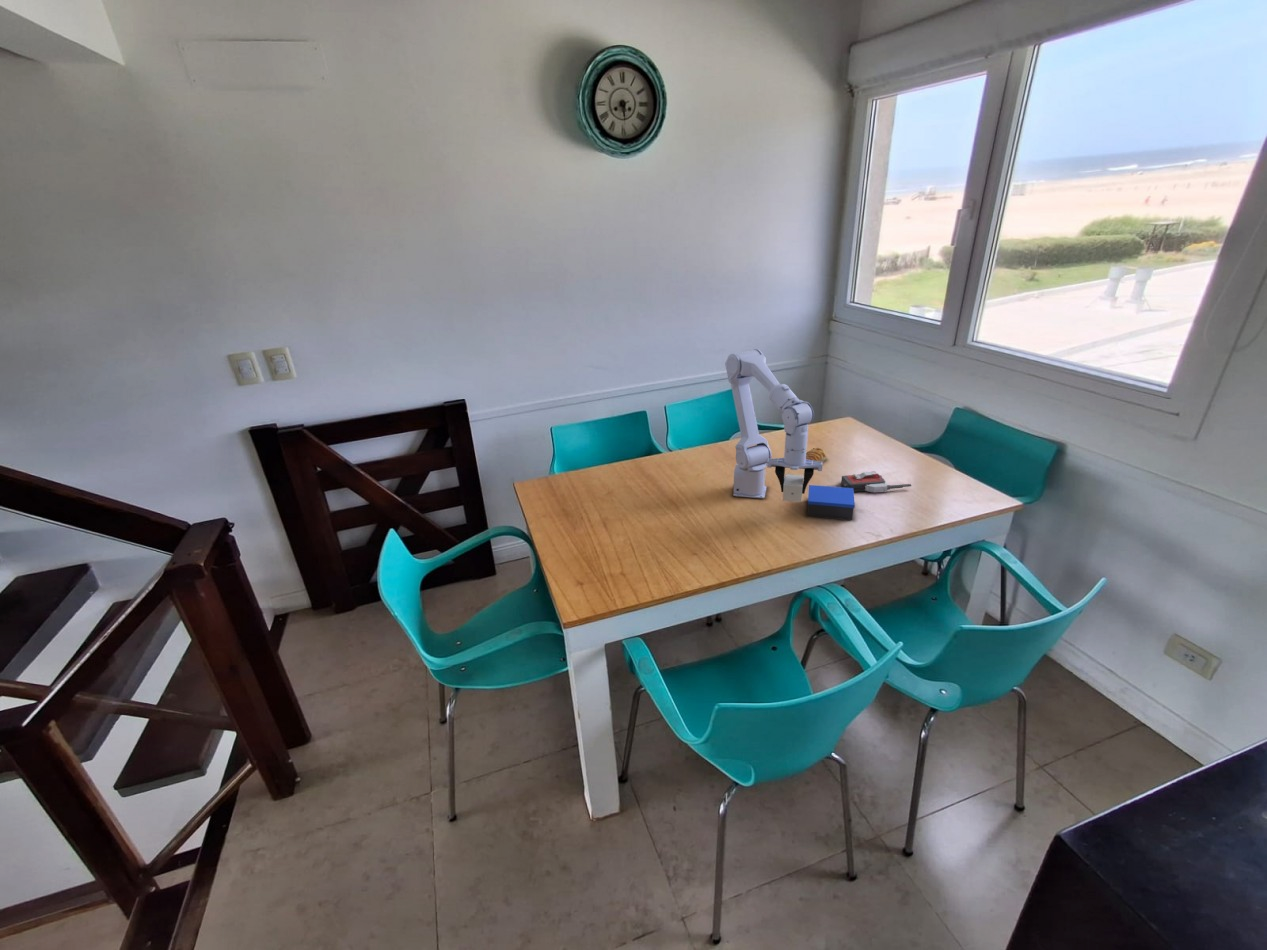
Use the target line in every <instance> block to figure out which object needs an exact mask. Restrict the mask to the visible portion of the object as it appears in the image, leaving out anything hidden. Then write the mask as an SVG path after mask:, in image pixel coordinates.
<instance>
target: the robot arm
mask: <svg viewBox="0 0 1267 950" xmlns="http://www.w3.org/2000/svg"><path fill="white" fill-rule="evenodd" d="M724 365H725V370H726V375H727V379H728V380H727V381H728V383H730V387H731V392H732V397H733V402H734V407H735V412H736V418H737V423H738V427H739V432H740V436H741V438H740V440H739V441H738V442H737V443H736V444H735V446H734V447H735V462H736V464H735V466H734V471H733V473H734V474H733V496H734V497H737V498H739V497H740V498H753V499H762V500H763V499H765V498H766V493H767V485H765V482H766V467H767V468H769V469H771V468H775V469H774V473H775V475H776V478H777V480H778V482H779V485H780V492H781V493H783V487H784V480H785V474H786V468H787V469H790V470H793V471H798V470H801V469H802V470H804V471H803V475H804V477H803V488H802V495H805V493H806V489H807V488H808V487H807V486H808V485H809V482H810V481H811V479H812V478H813V476H814V475H815V471H818V472H823V463H824V461H823V462H817V461H812V460H808V459H806V453H807V452H808V451H807V450H808V449H807V448H808V438H809V437H808V436H809V424H810V423H812V422H813V421H814V419H815V411H814V408H813V406H812V405H811V403H810V402H808V401H804V400H802V399H799V397H798V396H797V395H796V394H795V393H794V392H793V391H792V390H791V388H790V387H789V385H787V384H785V383H781V382H780V381H778V379H777V377H776V376H775V375H774V374H773V372H772V371H771V370H770V368H769V366H768V365H767V357H766V356H765V355H764V353H763V352H762V350H760V349H759V348H754V349H752V350H747V351H741V352H737V353H730V354H729V355H728V356H727V359H726V361H725V363H724ZM754 378H755V379H756V380H757V381H758V382H759V383H760V384H761V385H762V386H763V387H764V388H765V389H766V390H767V391H768V392H769V394H768V398H769V400H770V401H771V402H772V403H773V404H774V406H775V408H777V410H778V411H779V412H780V413H781V421H782V423H783V430H784V432H785V437H784V438H785V439H784V457H777V458H776V457H775V458H772V456H773V454H772V449H771V447H770V445H769V443H768V439H767V438H765V437H764V436H762V435H761V434H760V432H759V426H758V422H757V418H756V417H757V416H756V412H755V407H754V402H753V396H752V392H751V388H750V387H751V386H750V383H751V381H752V379H754Z"/></svg>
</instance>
